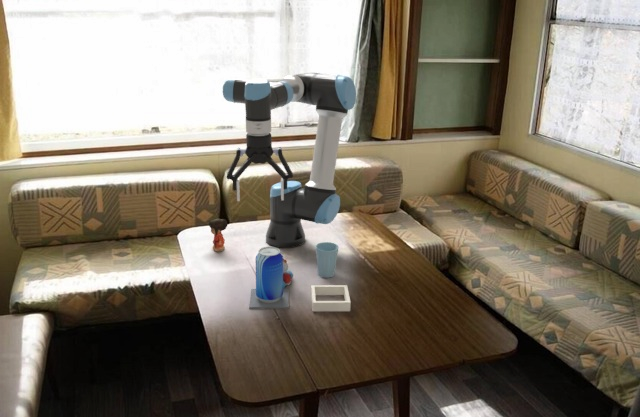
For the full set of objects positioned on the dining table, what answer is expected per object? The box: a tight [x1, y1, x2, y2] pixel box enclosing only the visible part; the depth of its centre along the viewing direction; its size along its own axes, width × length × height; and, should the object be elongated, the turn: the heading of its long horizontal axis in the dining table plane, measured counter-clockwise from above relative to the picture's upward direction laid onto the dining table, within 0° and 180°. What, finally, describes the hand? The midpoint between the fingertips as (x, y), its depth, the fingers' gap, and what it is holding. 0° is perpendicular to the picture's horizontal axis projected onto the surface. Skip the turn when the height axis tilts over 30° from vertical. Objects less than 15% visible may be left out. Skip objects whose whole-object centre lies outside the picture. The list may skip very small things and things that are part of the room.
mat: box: [249, 288, 290, 310], centre depth 195 cm, size 12×12×1 cm
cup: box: [315, 241, 339, 279], centre depth 211 cm, size 8×8×10 cm
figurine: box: [208, 218, 228, 253], centre depth 229 cm, size 6×6×12 cm
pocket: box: [310, 284, 352, 312], centre depth 194 cm, size 12×12×3 cm
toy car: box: [283, 258, 294, 289], centre depth 204 cm, size 9×9×10 cm
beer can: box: [255, 246, 284, 303], centre depth 192 cm, size 8×8×16 cm
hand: (260, 199), depth 193 cm, fingers open, 13 cm apart
